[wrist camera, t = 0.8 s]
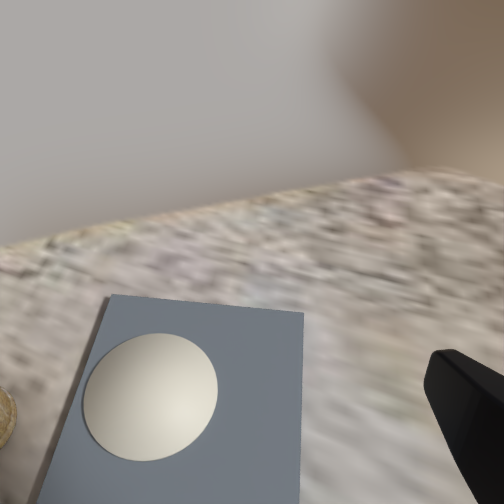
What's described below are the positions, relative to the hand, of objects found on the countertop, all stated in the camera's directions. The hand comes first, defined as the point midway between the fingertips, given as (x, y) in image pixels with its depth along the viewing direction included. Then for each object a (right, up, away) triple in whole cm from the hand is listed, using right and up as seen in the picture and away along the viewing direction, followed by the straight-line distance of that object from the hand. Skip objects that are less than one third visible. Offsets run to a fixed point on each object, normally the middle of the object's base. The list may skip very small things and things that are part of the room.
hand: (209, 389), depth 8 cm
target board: (-3, -6, +16) cm, 17 cm away
